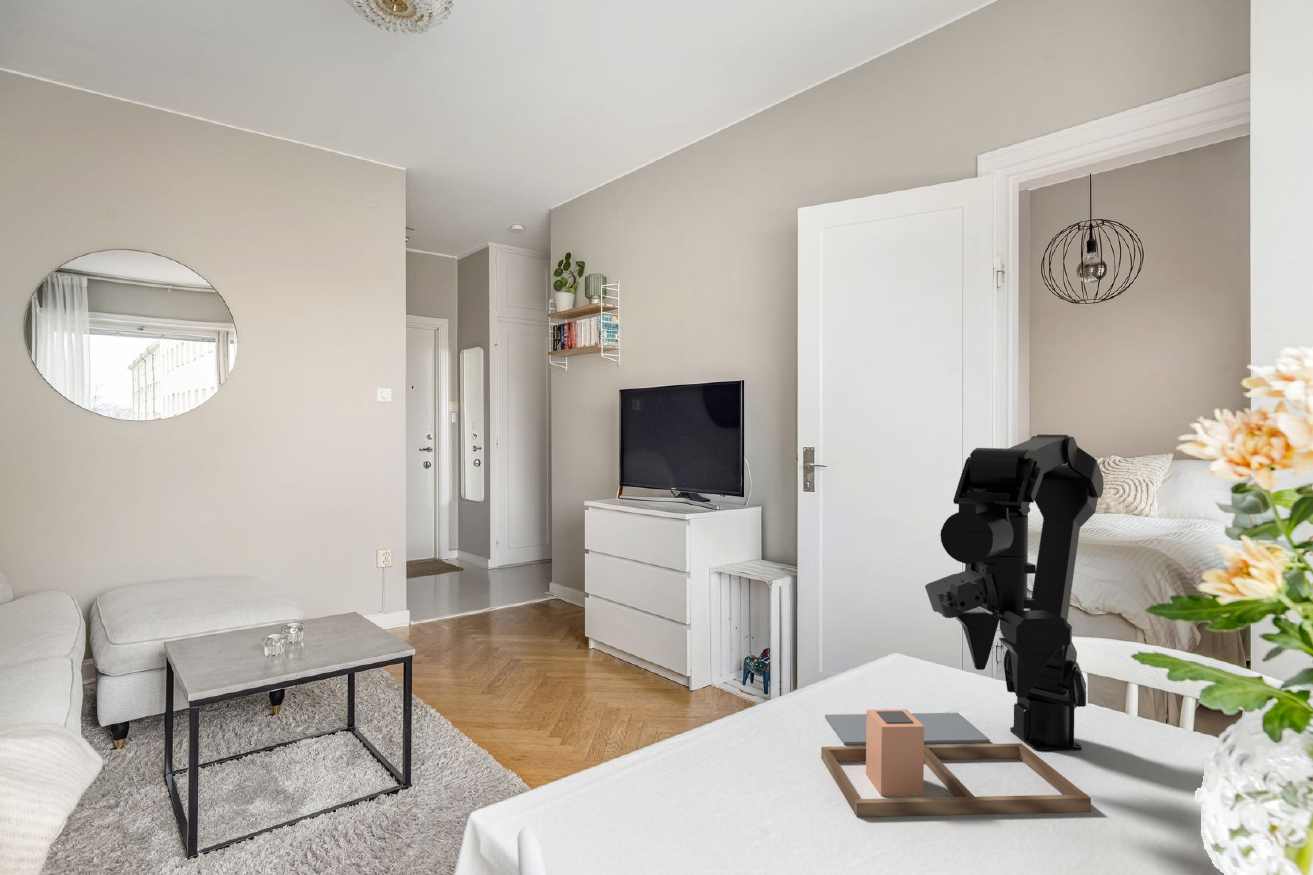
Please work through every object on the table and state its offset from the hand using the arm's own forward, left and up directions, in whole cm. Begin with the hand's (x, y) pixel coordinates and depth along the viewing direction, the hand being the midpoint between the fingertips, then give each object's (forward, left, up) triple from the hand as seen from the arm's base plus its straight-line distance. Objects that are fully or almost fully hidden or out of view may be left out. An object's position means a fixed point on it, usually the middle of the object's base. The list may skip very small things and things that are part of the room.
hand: (999, 682), depth 84 cm
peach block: (+13, 0, -12) cm, 18 cm away
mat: (+5, -15, -12) cm, 20 cm away
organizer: (+6, 0, -12) cm, 14 cm away
